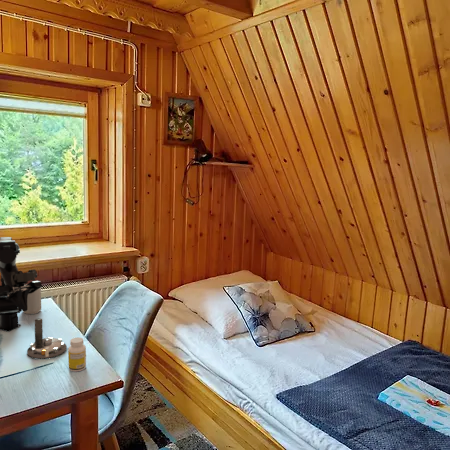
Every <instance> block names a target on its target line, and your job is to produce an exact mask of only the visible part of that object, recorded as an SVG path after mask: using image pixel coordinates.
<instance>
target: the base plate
mask: <svg viewBox="0 0 450 450" xmlns="http://www.w3.org/2000/svg"><path fill="white" fill-rule="evenodd" d="M62 343H64V347H63V348H61V349H60V350H58V352H56V353H49V348H45V355H42V354H37V353H32V349H30V346H29V348H28V349H27V350H26V351H27V356H28V357H29V358H32V359H33V360H49V358H50V359H53V358H57V357H60V356H62V355H63V354H65V353H66V352H67V351H68V348H67V344H66V343H65V342H63V341H62Z"/></svg>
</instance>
